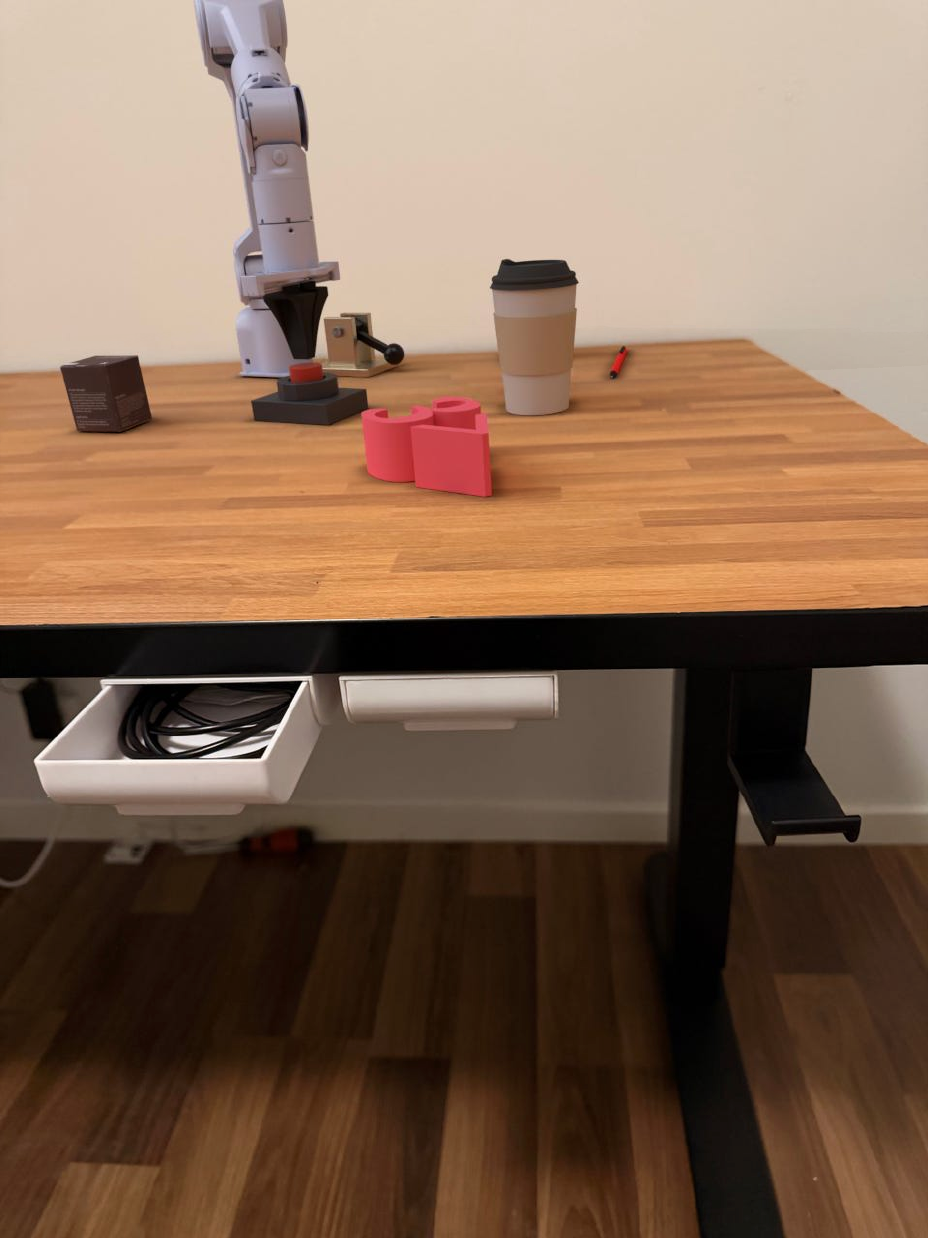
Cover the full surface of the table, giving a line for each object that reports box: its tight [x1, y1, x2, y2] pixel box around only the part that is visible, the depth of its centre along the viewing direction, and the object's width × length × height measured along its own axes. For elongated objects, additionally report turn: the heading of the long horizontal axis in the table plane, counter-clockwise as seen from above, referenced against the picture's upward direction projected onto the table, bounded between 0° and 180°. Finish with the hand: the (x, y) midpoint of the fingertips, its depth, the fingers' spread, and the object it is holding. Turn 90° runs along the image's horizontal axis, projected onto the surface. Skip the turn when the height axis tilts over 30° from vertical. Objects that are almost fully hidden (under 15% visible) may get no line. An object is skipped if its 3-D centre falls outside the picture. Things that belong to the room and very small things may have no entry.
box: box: [59, 354, 153, 433], centre depth 100 cm, size 6×6×7 cm
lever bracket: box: [320, 312, 400, 378], centre depth 122 cm, size 10×8×7 cm
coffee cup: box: [489, 258, 580, 416], centre depth 94 cm, size 9×9×15 cm
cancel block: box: [250, 373, 369, 426], centre depth 100 cm, size 10×8×4 cm
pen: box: [609, 345, 628, 379], centre depth 116 cm, size 1×19×1 cm, turn 166°
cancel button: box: [289, 362, 324, 382], centre depth 99 cm, size 4×4×2 cm
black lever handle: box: [342, 315, 406, 365], centre depth 121 cm, size 10×3×3 cm, turn 63°
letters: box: [360, 396, 493, 498], centre depth 75 cm, size 14×10×5 cm
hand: (304, 358), depth 98 cm, fingers closed
